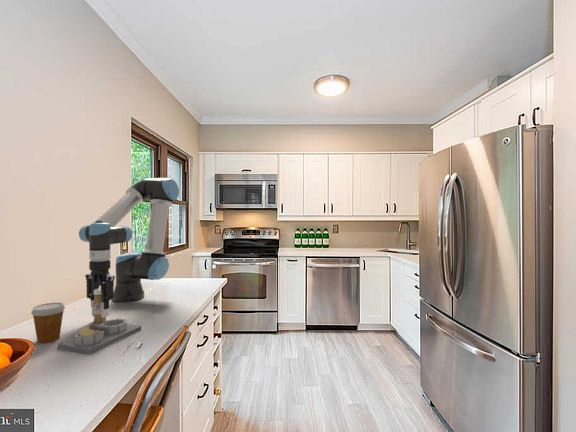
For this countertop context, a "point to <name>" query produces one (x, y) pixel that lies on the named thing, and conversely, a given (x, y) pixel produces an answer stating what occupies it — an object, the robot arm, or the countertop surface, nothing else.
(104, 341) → the gear housing
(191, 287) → the countertop surface
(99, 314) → the sprinkles bottle
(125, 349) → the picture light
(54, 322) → the disposable coffee cup
